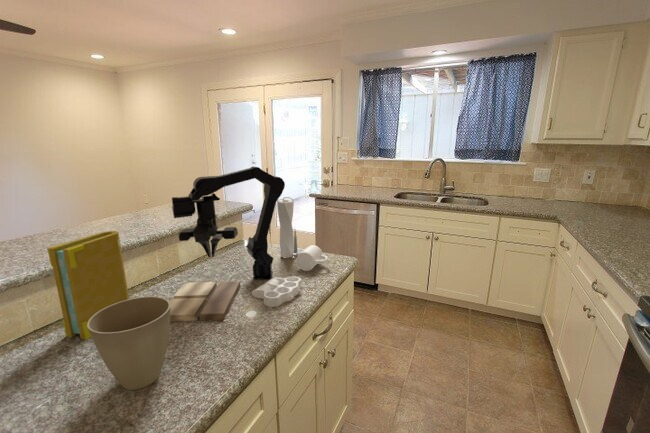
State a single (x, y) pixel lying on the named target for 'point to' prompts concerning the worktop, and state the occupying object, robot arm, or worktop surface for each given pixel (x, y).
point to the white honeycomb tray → (278, 290)
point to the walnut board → (220, 301)
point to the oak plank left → (186, 308)
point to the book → (88, 278)
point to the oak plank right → (196, 290)
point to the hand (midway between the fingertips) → (211, 256)
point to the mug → (310, 258)
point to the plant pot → (132, 339)
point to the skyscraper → (286, 228)
